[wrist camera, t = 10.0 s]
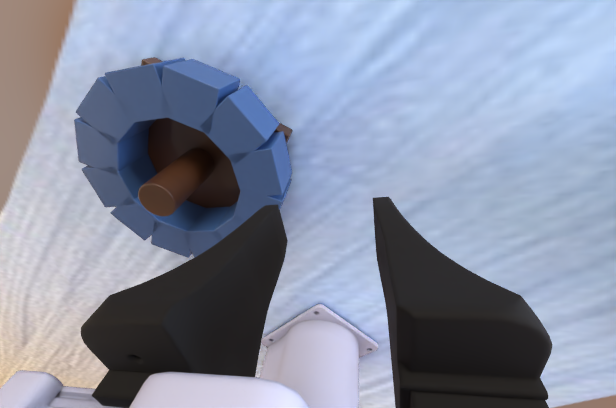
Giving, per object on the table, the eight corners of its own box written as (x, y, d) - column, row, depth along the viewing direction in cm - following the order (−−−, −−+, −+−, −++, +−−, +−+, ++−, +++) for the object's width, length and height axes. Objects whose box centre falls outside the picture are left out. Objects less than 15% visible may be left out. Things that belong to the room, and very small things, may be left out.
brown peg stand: (247, 227, 22) (215, 286, 17) (137, 176, 21) (70, 223, 16) (293, 129, 18) (267, 171, 13) (154, 56, 17) (66, 71, 12)
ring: (160, 236, 23) (138, 260, 20) (75, 78, 17) (29, 87, 14) (304, 230, 20) (297, 257, 18) (265, 42, 14) (247, 46, 12)
